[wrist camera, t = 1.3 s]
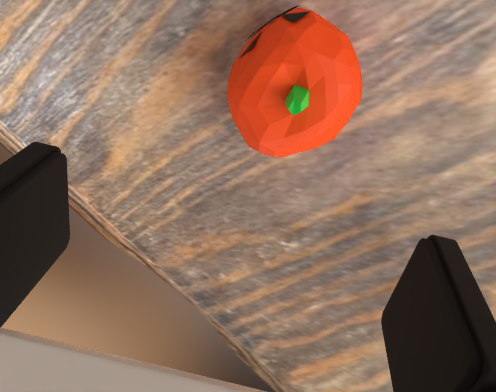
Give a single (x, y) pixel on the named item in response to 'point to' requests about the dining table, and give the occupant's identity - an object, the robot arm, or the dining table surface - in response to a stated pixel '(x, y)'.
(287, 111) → the pumpkin
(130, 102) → the dining table surface
